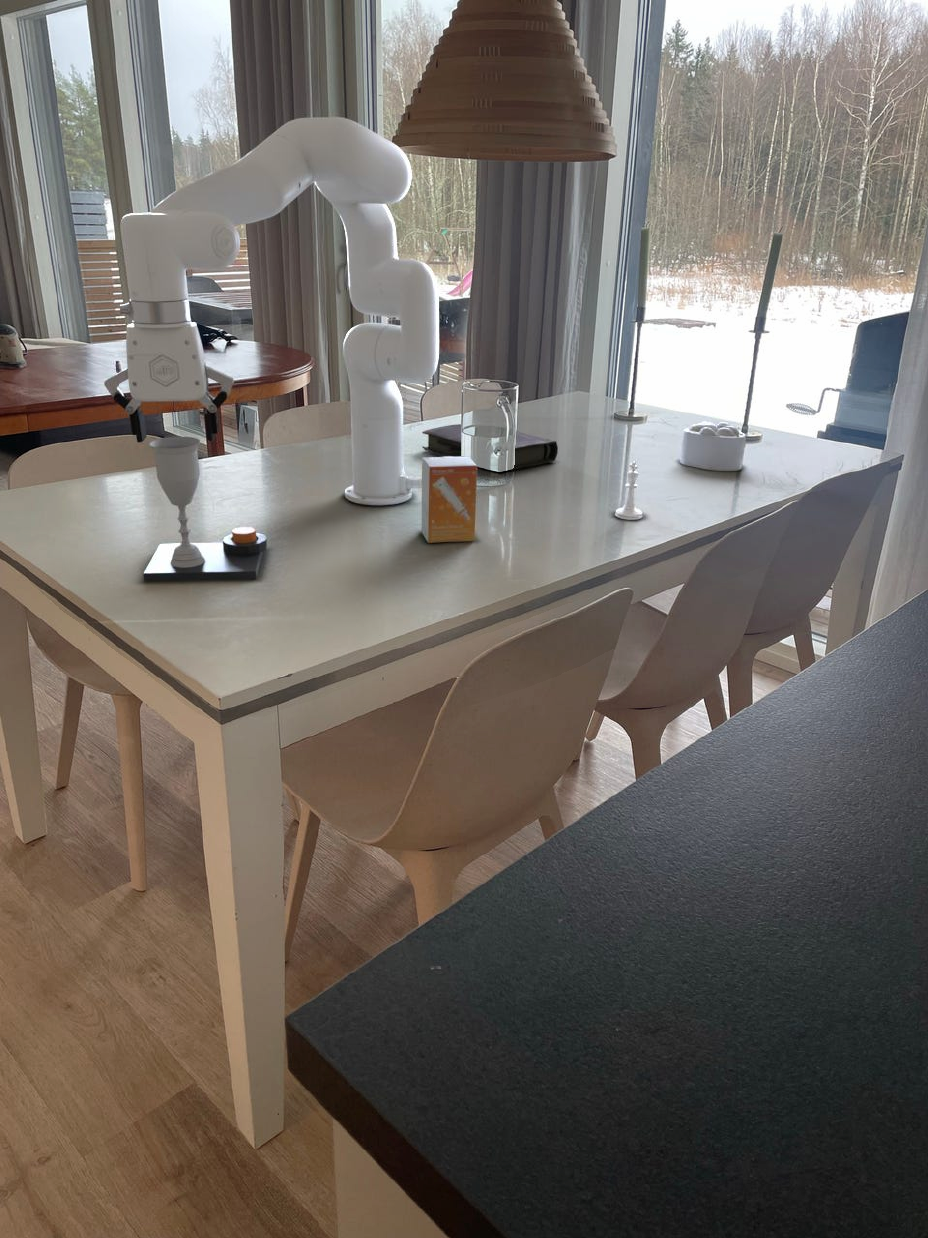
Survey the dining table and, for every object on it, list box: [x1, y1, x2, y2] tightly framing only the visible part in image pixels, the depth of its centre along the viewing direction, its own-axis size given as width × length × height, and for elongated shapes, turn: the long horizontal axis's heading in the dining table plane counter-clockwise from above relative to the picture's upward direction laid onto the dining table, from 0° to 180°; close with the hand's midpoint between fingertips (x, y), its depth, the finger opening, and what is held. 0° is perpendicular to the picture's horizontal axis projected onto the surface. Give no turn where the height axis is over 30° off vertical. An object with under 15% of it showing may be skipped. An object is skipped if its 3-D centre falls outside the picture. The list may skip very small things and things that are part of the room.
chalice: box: [149, 436, 205, 568], centre depth 135 cm, size 7×7×18 cm
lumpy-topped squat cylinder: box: [679, 421, 747, 472], centre depth 203 cm, size 10×13×9 cm
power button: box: [231, 526, 257, 543], centre depth 144 cm, size 4×4×2 cm
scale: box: [142, 532, 268, 583], centre depth 141 cm, size 17×13×3 cm
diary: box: [422, 423, 559, 471], centre depth 206 cm, size 19×25×5 cm
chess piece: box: [614, 461, 643, 521], centre depth 167 cm, size 5×5×10 cm
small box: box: [421, 456, 478, 544], centre depth 154 cm, size 8×6×13 cm
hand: (176, 439), depth 132 cm, fingers open, 9 cm apart
